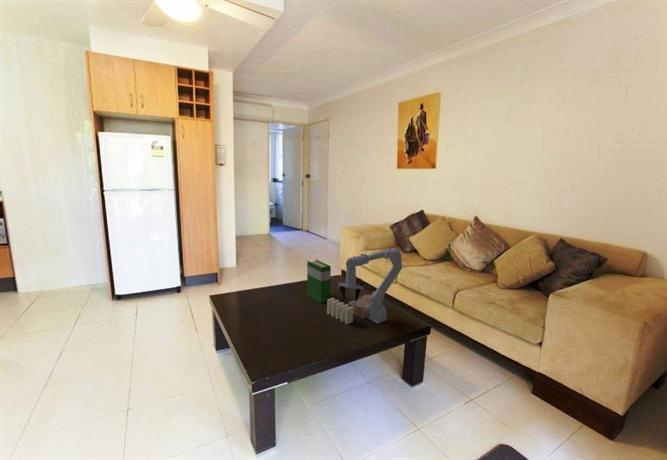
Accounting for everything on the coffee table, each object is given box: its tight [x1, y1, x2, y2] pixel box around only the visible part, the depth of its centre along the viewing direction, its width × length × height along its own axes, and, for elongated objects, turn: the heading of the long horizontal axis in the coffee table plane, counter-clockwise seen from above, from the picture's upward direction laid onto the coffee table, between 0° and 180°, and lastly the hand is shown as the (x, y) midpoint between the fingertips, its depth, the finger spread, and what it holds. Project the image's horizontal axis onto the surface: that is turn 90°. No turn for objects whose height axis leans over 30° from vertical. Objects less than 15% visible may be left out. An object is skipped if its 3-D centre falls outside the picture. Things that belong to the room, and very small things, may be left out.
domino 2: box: [330, 299, 340, 318], centre depth 189 cm, size 2×5×9 cm, turn 131°
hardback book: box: [306, 259, 332, 304], centre depth 214 cm, size 18×7×24 cm, turn 35°
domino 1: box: [326, 297, 336, 315], centre depth 192 cm, size 2×5×9 cm, turn 131°
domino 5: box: [344, 306, 354, 325], centre depth 180 cm, size 2×5×9 cm, turn 131°
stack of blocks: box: [347, 293, 372, 319], centre depth 198 cm, size 21×6×12 cm
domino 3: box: [335, 301, 345, 320], centre depth 186 cm, size 2×5×9 cm, turn 131°
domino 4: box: [339, 303, 349, 323], centre depth 183 cm, size 2×5×9 cm, turn 131°
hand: (350, 299), depth 187 cm, fingers open, 7 cm apart
